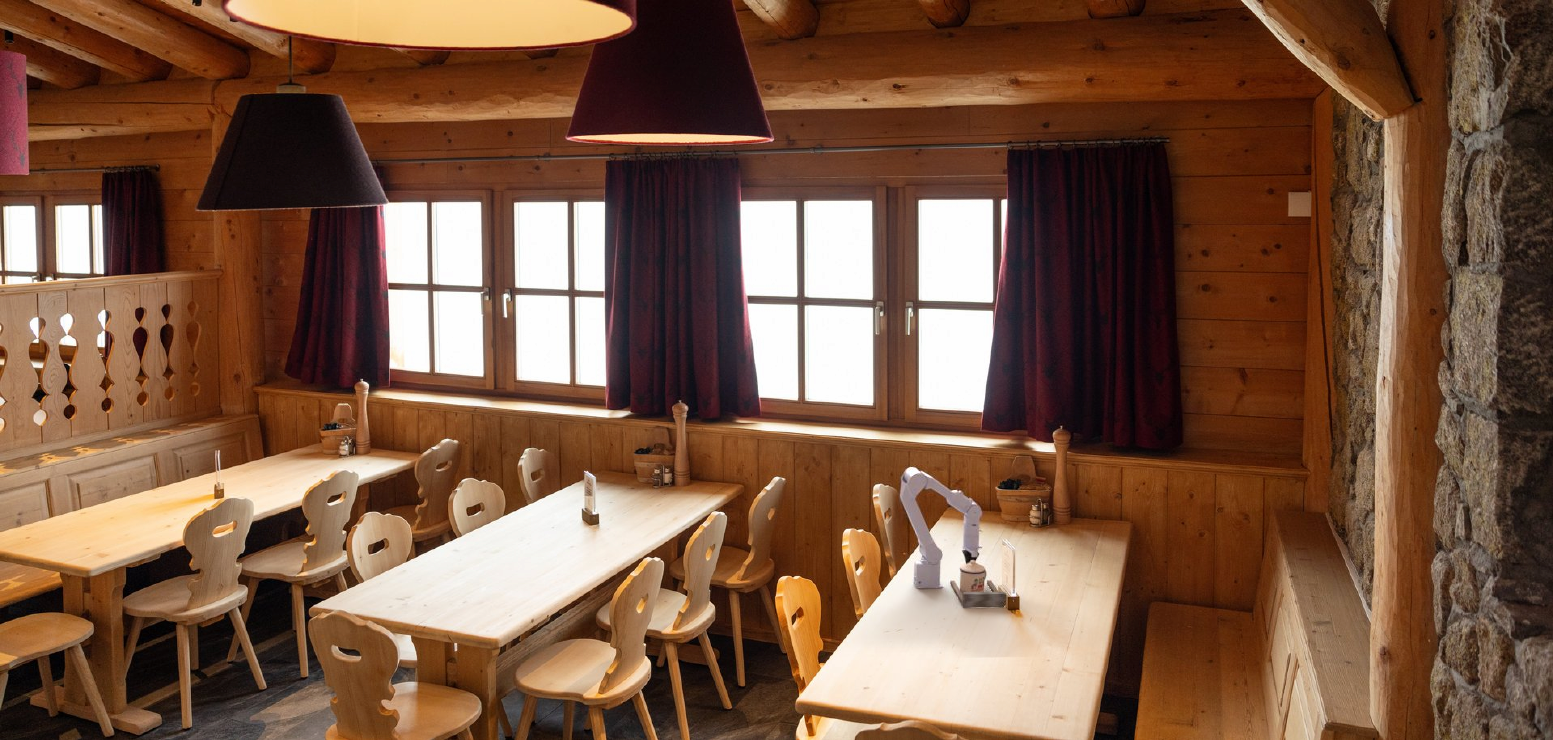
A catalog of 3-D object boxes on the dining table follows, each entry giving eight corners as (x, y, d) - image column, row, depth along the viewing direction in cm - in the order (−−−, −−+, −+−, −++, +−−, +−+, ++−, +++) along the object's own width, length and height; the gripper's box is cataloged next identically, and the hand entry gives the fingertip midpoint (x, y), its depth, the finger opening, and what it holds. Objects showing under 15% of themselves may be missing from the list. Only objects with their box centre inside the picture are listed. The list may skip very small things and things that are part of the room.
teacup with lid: (973, 598, 421) (974, 566, 419) (953, 591, 427) (954, 560, 426) (995, 590, 428) (996, 559, 427) (975, 584, 435) (976, 553, 433)
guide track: (963, 607, 411) (963, 594, 410) (950, 584, 435) (950, 571, 434) (1006, 607, 411) (1006, 593, 411) (990, 584, 435) (991, 571, 434)
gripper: (986, 540, 427) (985, 576, 429) (977, 528, 441) (976, 563, 443) (966, 540, 426) (965, 576, 428) (958, 528, 441) (957, 563, 443)
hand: (970, 569), depth 436 cm, fingers closed
